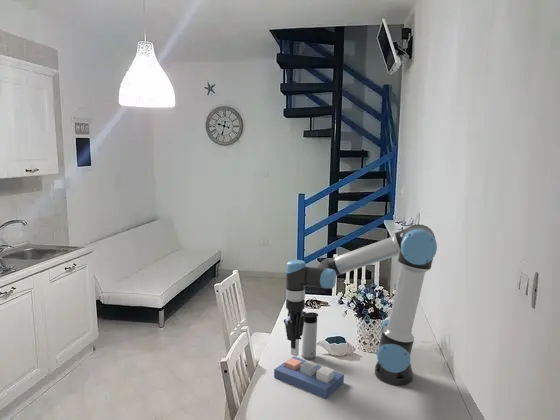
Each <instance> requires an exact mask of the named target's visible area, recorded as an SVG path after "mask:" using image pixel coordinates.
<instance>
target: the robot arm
mask: <svg viewBox="0 0 560 420" xmlns="http://www.w3.org/2000/svg"><path fill="white" fill-rule="evenodd" d="M437 249H438V244H437V240H436V236H435V233H434V232H433V231H432V229H431V228H430V227H428V226H427V225H424V224H414V225H411V226H410V225H409V227H406V228H404V229H402V230H399V231H397V232H394V233H393V236H391V237H388V238H384V239H382V240H379V241H376V242H374V243H371V244H368V245H365V246H362V247H358V248H357V249H354V250H351V251H347V252H345V253H343V254H340V255H337V256H334V257H331V258H324V259H323V260H321V262H320V263H319V264H318V265H317V267H312V266H311V267H310V266H307V264H306V262H305V260H300V259H291V260H289V261H288V262H287V263H286V271H285V279H286V280H285V283H286V284H285V287H286V289H285V290H286V291H285V292H286V293H285V297H286V299H285V308H286V310H287V311H288V312H287V318H284V319H283V323H284V327H285V332H286V338H287V340H288V341H290V355H291V356H293V357H297V356H299V353H300V352H299V351H300V350H299V348H300V346H299V345H300V340H301V341H302V335H303V327H304V320H305V316H306V313H307V311H304V309H305V307H306V300H305V298H306V287H312V288H321V289H333V288H335V285H336V282H337V281H336V280H337V276H340V275H344V274H347V273H349V272H352V271H355V270H357V269H361V268H363V267H367V266H369V265H372V264H376V263H379V262H382V261H384V260H385V261H386V260H388V259H390V258H394V257H396V256H398V259H397V262H398V264H399V265H400V269H399V273H398V278H397V282H396V283H397V284H396V287H395V291H394V296H393V301H392V305H391V310H390V313H389V318H388V319H385V320H383V321H382V323H381V327H380V328H381V335H380V340H379V344H378V345H379V346H378V348H377V351H376V358H377V362H376V365H375V367H374V375H375V376H376V378H377V379H378V380H380V381H381V382H384V383H386V384H389V385H394V386H395V385H396V386H403V385H409V384H410V383H412V381H413V378H414V372H413V368H412V364H411V354H412V350H413V344H414V341H415V336H414V335H413V333H412V332H413V330H412V329H413V327H414V326H413V325H414V322H415V318H416V313H417V309H418V305H419V300H420V296H421V291H422V287H423V283H424V279H425V275H426V272H428V271H430V270H431V268H432V265H433V260H434V257H435V255H436V254H437Z"/></svg>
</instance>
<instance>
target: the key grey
mask: <svg viewBox="0 0 560 420" xmlns="http://www.w3.org/2000/svg"><path fill="white" fill-rule="evenodd" d="M305 361H306V362H304V363H303V364H301V365H300V373H301V374H304V375H307V376H309V377H312V376H313V375H315V374H316V373H317V370H318V363H315V362H313V361H309V360H305Z"/></svg>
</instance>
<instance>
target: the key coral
mask: <svg viewBox="0 0 560 420" xmlns="http://www.w3.org/2000/svg"><path fill="white" fill-rule="evenodd" d="M284 362H285V367H286V368H288V369H291V370H294V371H296V370H298V369H299V368H300V365H301V364H302V361H299V360H297V359H294V358H292V357H291V358H289V359H288V360H286V361H284Z"/></svg>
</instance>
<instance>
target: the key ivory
mask: <svg viewBox="0 0 560 420" xmlns="http://www.w3.org/2000/svg"><path fill="white" fill-rule="evenodd" d="M334 371H335V370H334V369H332V368H329V367H326V366H324V365H323V366H322V367H321V368H320V369H319V370H317V373H316V379H317V380H319V381H322V382H325V383H327V384H328V383H329V382H331V381H332V380H333V379H334Z"/></svg>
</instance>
